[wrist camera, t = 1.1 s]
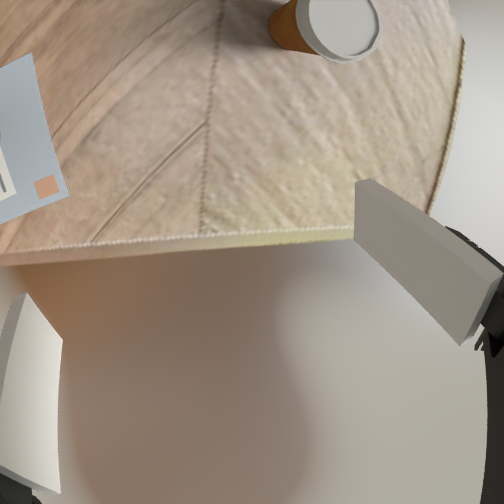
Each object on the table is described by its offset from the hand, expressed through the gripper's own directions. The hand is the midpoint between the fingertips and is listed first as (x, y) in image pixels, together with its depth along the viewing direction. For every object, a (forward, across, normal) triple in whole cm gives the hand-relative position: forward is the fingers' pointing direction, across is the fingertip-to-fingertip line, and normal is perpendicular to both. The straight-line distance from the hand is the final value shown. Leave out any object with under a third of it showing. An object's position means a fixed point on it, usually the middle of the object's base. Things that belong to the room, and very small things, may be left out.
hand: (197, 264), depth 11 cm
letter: (+28, -20, +6) cm, 35 cm away
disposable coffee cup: (+28, +19, +9) cm, 35 cm away
